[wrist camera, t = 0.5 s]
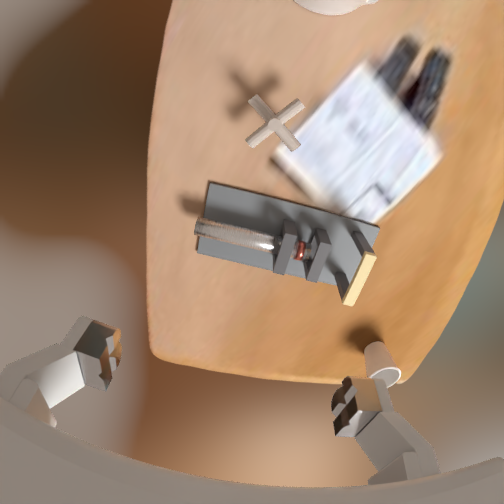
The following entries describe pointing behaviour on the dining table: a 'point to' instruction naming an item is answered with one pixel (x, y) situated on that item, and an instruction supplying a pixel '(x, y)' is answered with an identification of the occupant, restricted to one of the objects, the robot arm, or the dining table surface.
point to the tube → (248, 238)
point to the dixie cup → (381, 363)
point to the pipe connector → (274, 122)
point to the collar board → (271, 224)
